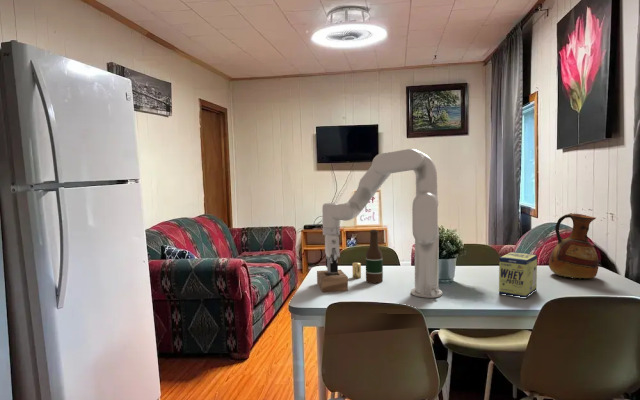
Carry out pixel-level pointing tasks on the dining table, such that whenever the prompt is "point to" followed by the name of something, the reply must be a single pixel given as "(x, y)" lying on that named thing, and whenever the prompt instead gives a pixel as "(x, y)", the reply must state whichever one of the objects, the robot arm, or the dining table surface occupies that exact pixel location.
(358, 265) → the short brass pin
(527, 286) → the protein box
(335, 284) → the walnut hole block
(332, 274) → the long steel pin
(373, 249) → the beer bottle
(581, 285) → the dining table surface
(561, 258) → the ceramic pitcher
